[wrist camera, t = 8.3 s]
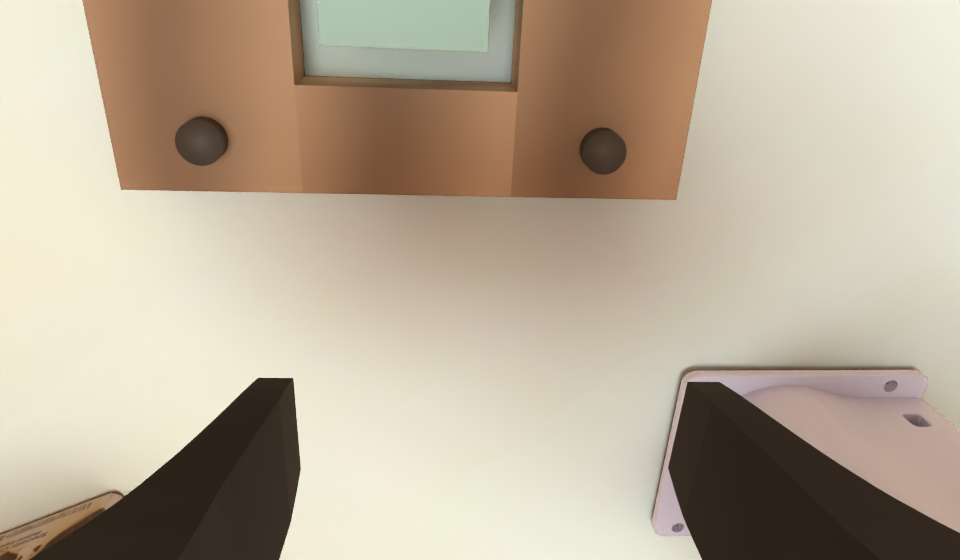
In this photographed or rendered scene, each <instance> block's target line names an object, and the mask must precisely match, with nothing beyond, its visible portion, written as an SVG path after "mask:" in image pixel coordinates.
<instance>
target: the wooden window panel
mask: <svg viewBox="0 0 960 560" xmlns="http://www.w3.org/2000/svg"><path fill="white" fill-rule="evenodd" d="M711 2H712V0H516V7H515V24H514V40H513V57H512V73H511V83H502V82H471V81H441V80H410V79H380V78H349V77H319V76H305V73H304V59H303V45H302V31H301V17H300V3H299V0H83V5H84V10H85V15H86V20H87V25H88V30H89V35H90V39H91V44H92V49H93V54H94V59H95V64H96V69H97V74H98V79H99V84H100V89H101V94H102V98H103V103H104V108H105V113H106V118H107V123H108V128H109V133H110V138H111V143H112V148H113V152H114V157H115V162H116V167H117V172H118V177H119V182H120V187H121V190H170V191H225V192H279V193H334V194H388V195H442V196H497V197H551V198H606V199H660V200H676V197H677V191H678V186H679V180H680V174H681V169H682V163H683V158H684V152H685V147H686V141H687V136H688V130H689V125H690V119H691V113H692V108H693V102H694V97H695V91H696V86H697V80H698V75H699V69H700V63H701V58H702V52H703V47H704V41H705V36H706V30H707V25H708V19H709V13H710V8H711Z"/></svg>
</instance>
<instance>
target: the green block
mask: <svg viewBox="0 0 960 560" xmlns="http://www.w3.org/2000/svg"><path fill="white" fill-rule="evenodd" d="M489 13H490V0H317V14H318V31H319V46H344V47H369V48H394V49H420V50H445V51H470V52H488V34H489Z"/></svg>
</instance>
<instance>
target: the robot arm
mask: <svg viewBox="0 0 960 560" xmlns="http://www.w3.org/2000/svg"><path fill="white" fill-rule="evenodd" d="M711 381H713V382H711ZM889 381H890V382H889ZM887 382H889V383H888V384H887V385H885V384H886V383H887ZM927 384H928V379H927V377H926V376H924V375H923V374H922V373H921V372H919V371H918V370H730V371H692V372H690V373H688V374H686V375H685V376H684V377H683V379H682V381H681V385H680V390H679V395H678V399H677V404H676V409H675V414H674V418H673V423H672V428H671V433H670V437H669V442H668V447H667V452H666V456H665V461H664V466H663V471H662V475H661V480H660V485H659V490H658V494H657V499H656V504H655V509H654V513H653V518H652V527H653V529H654V531H655V533H656V534H658V535H660V536H684V535H691V536H692V538H693V540H694V542H695V545H696V547H697V549H698V551H699V553H700V556H701V558H702V560H960V432H959V431H958V430H957V429H956V428H955V427H954V426H953V425H951V424H950V423H949V422H948V421H947V420H946V419H945V418H943V417H942V416H941V415H940V414H939V413H938V412H937V411H935V410H934V409H933V408H932V407H931V406H930V405H929V404H927V403H926V402H925V401H924V400H923V399H922V397H923V395H924V392H925V390H926V387H927ZM300 469H301V468H300V456H299V444H298V431H297V419H296V407H295V395H294V382H293V378H258V379H257V380H255V381H254V382H253V383H252V384H251V385H250V386H249V387H248V388H247V389H246V390H245V391H243V392H242V393H241V394H240V395H239V396H238V397H237V398H236V399H235V400H234V401H233V402H232V403H231V404H230V405H229V406H228V407H227V408H226V409H225V410H224V411H223V412H222V413H221V414H220V415H219V416H218V417H217V418H216V419H214V420H213V421H212V422H211V423H210V424H209V425H208V426H207V427H206V428H205V429H204V430H203V431H202V432H201V433H199V434H198V435H197V436H196V437H195V438H194V439H193V440H192V441H191V442H190V443H189V444H187V445H186V446H185V447H184V448H183V449H182V450H181V451H180V452H179V453H177V454H176V455H175V456H174V457H173V458H172V459H170V460H169V461H168V462H167V463H166V464H164V465H163V466H162V467H161V468H160V469H158V470H157V471H156V472H155V473H154V474H152V475H151V476H150V477H149V478H148V479H146V480H145V481H144V482H143V483H142V484H140V485H139V486H138V487H136V488H135V489H134V490H132V491H131V492H130V493H129V494H127V495H126V496H125V497H123V498H122V499H120V500H119V501H118V502H116V503H115V504H114V505H112V506H111V507H109V508H108V509H107V510H105V511H104V512H102V513H101V514H99V515H98V516H97V517H95V518H94V519H92V520H91V521H89V522H88V523H86V524H85V525H84V526H82V527H81V528H79V529H78V530H76V531H75V532H73V533H71V534H70V535H68V536H67V537H65V538H63V539H62V540H60V541H58V542H57V543H55V544H54V545H52V546H50V547H49V548H47V549H45V550H44V551H42V552H40V553H39V554H37V555H36V556H34V557H32V558H31V559H29V560H279V558H280V554H281V551H282V548H283V545H284V542H285V538H286V535H287V532H288V529H289V525H290V522H291V518H292V513H293V508H294V502H295V497H296V492H297V486H298V480H299V475H300ZM676 523H678V524H676ZM674 524H676V525H674Z"/></svg>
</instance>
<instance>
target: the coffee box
mask: <svg viewBox="0 0 960 560" xmlns="http://www.w3.org/2000/svg"><path fill="white" fill-rule="evenodd" d="M122 498H123V497H122V496H121V495H119V494H114V493H109V494H107V495H104V496H101V497H98V498H95V499H93V500H90V501H88V502H85V503H83V504H80V505H77V506H75V507H72V508H70V509H67V510H65V511H62V512H59V513H57V514H54V515H51V516H49V517H46V518H43V519H41V520H38V521H36V522H33V523H30V524H28V525H25V526H22V527H20V528H17V529H14V530H12V531H9V532H7V533H4V534H1V535H0V560H29V559H31V558H32V557H34V556H36V555H37V554H39V553H40V552H42V551H44V550H45V549H47V548H49V547H50V546H52V545H54V544H55V543H57V542H58V541H60V540H62V539H63V538H65V537H67V536H68V535H70V534H71V533H73V532H75V531H76V530H78V529H79V528H81V527H82V526H84V525H85V524H86V523H88V522H89V521H91V520H92V519H94V518H95V517H97V516H98V515H99V514H101V513H102V512H104V511H105V510H107V509H108V508H109V507H111V506H112V505H114V504H115V503H116V502H118V501H119V500H120V499H122Z"/></svg>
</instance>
